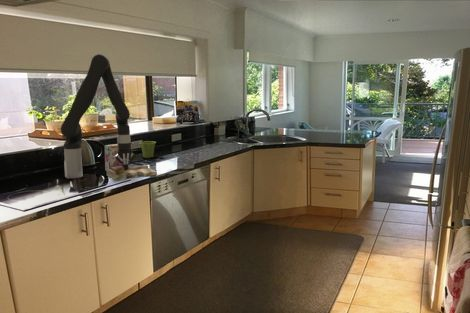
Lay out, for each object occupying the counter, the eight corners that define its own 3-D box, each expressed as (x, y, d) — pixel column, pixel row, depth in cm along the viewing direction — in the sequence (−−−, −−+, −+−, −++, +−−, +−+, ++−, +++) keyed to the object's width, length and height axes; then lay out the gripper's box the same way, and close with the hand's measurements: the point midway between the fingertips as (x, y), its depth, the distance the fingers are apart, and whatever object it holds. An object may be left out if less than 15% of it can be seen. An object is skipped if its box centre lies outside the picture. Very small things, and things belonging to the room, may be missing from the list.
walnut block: (114, 174, 236) (114, 168, 235) (111, 172, 240) (110, 166, 240) (124, 173, 239) (124, 167, 238) (120, 171, 244) (120, 165, 243)
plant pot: (139, 156, 304) (138, 141, 302) (155, 155, 307) (154, 140, 305) (140, 159, 293) (140, 143, 291) (157, 158, 296) (156, 143, 294)
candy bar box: (109, 172, 250) (108, 146, 247) (105, 171, 254) (103, 145, 250) (124, 169, 259) (123, 144, 256) (120, 168, 262) (119, 143, 259)
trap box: (114, 180, 230) (114, 172, 229) (106, 175, 241) (106, 168, 241) (156, 174, 245) (156, 167, 244) (147, 170, 256) (147, 163, 255)
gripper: (115, 143, 233) (117, 172, 236) (137, 141, 240) (138, 169, 243) (111, 142, 239) (112, 170, 242) (132, 140, 246) (133, 167, 249)
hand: (125, 170), depth 243 cm, fingers closed
